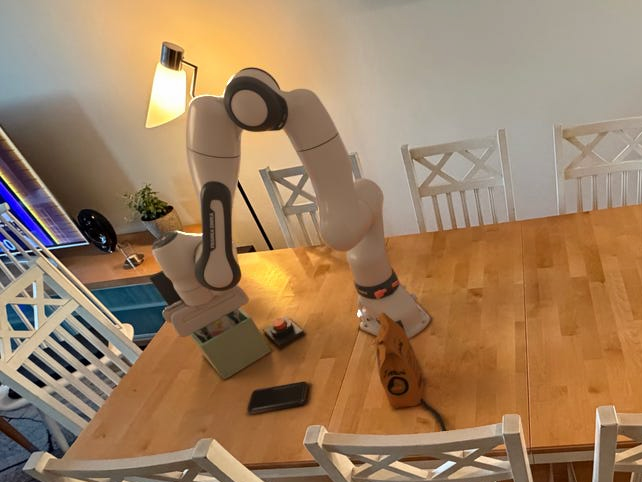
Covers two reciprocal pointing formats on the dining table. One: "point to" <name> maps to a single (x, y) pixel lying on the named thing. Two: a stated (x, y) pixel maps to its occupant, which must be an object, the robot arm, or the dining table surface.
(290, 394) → the phone
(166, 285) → the lid
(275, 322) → the button
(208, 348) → the green box
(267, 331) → the block
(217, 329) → the printed card box
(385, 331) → the coffee package
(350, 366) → the dining table surface
